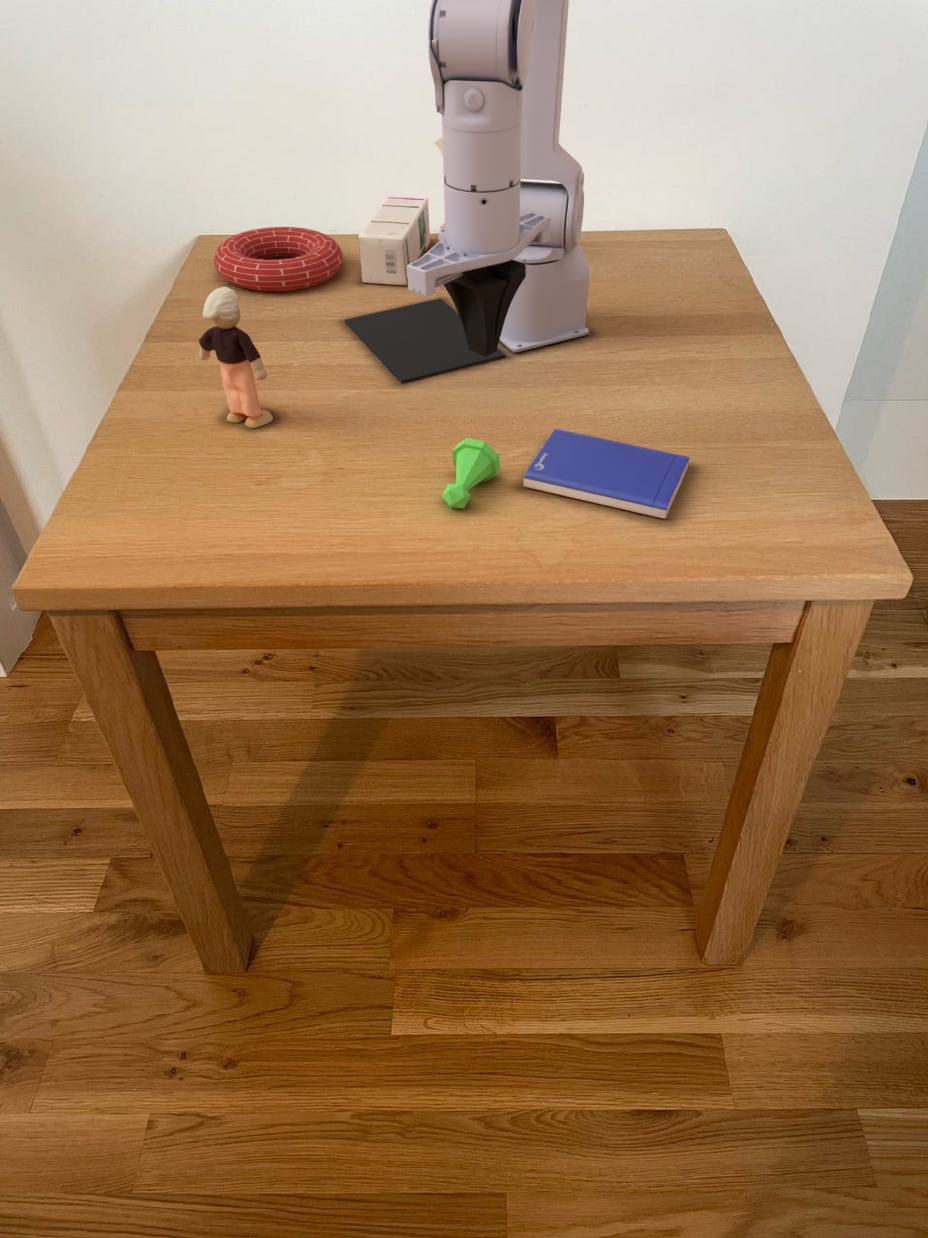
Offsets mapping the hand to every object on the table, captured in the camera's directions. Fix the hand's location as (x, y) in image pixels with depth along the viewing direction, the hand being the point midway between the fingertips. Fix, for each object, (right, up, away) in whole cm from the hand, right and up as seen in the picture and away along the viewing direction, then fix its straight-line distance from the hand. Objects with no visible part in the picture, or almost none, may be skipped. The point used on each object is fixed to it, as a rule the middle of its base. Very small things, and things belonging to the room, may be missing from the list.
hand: (482, 350), depth 77 cm
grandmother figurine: (-23, -3, +11) cm, 26 cm away
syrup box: (-11, +20, +31) cm, 39 cm away
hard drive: (+11, -11, +3) cm, 15 cm away
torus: (-24, +20, +37) cm, 49 cm away
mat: (-6, +8, +23) cm, 25 cm away
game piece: (0, -9, +2) cm, 9 cm away
